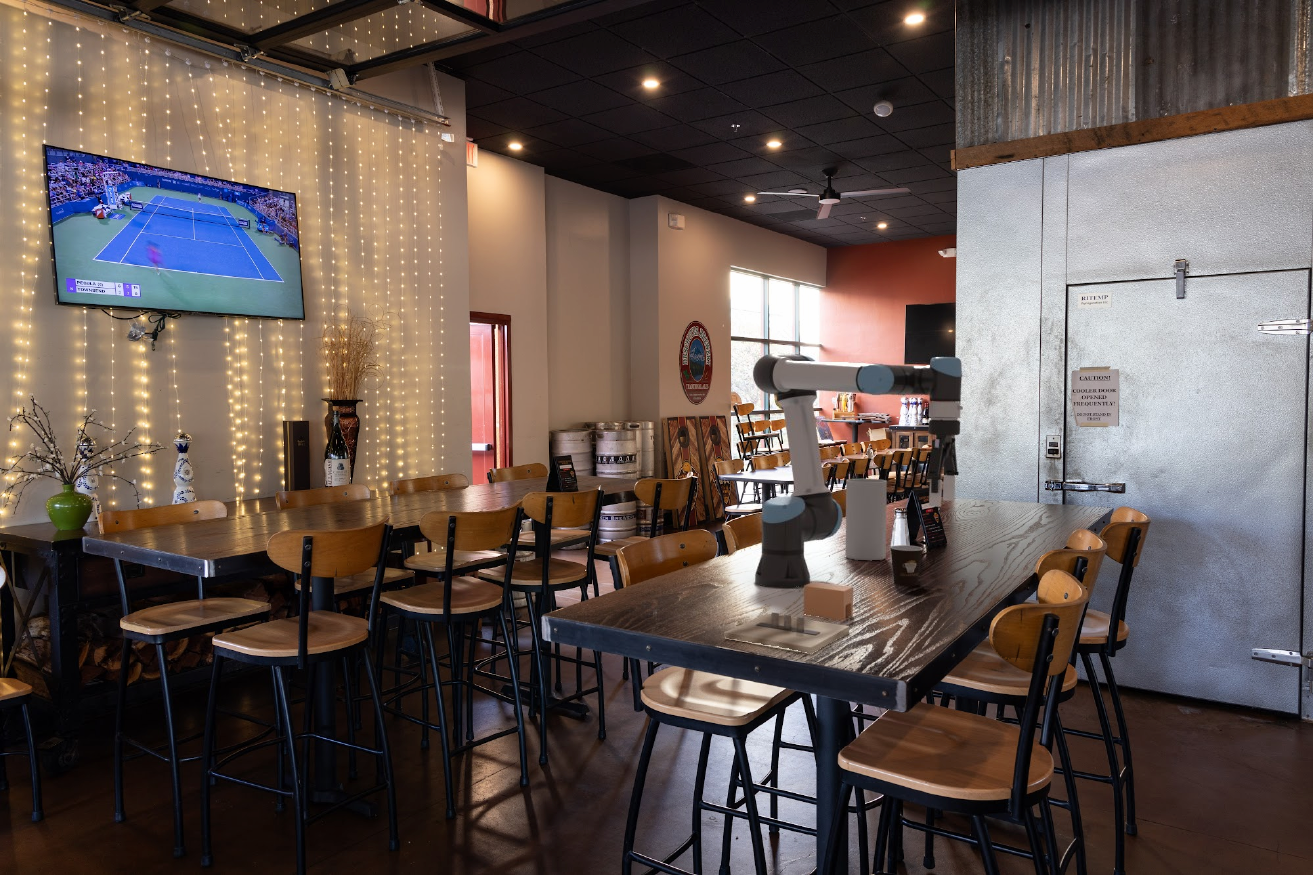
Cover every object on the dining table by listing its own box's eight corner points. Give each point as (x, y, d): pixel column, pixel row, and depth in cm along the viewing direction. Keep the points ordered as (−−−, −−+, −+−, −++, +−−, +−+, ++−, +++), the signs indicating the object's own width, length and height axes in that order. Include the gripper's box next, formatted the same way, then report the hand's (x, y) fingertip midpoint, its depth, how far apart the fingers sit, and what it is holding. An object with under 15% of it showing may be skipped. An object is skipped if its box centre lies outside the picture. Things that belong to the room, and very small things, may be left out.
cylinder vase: (842, 554, 289) (843, 478, 288) (880, 554, 289) (881, 478, 288) (849, 561, 277) (850, 482, 275) (889, 561, 276) (890, 482, 275)
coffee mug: (887, 585, 241) (888, 549, 241) (891, 579, 249) (892, 544, 249) (932, 589, 237) (932, 552, 236) (934, 582, 245) (935, 547, 244)
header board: (724, 639, 187) (724, 618, 187) (766, 619, 203) (767, 600, 203) (811, 654, 176) (811, 632, 175) (849, 632, 192) (849, 612, 192)
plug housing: (803, 615, 208) (803, 585, 208) (813, 610, 213) (813, 581, 213) (843, 621, 203) (844, 591, 202) (852, 616, 207) (853, 586, 207)
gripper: (947, 420, 208) (944, 509, 209) (971, 418, 229) (968, 499, 230) (915, 419, 212) (913, 507, 213) (941, 417, 233) (939, 497, 234)
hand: (942, 503), depth 222 cm, fingers open, 13 cm apart
